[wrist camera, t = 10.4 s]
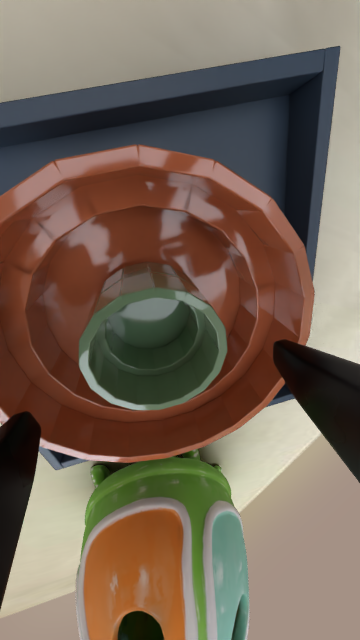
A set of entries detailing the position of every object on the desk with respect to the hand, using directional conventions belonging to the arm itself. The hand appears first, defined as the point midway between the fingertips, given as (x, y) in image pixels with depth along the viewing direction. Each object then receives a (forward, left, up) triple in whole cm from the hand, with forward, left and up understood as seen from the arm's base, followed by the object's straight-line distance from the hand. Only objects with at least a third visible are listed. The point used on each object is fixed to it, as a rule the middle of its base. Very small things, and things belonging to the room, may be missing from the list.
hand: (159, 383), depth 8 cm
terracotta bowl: (0, 0, -6) cm, 6 cm away
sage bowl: (0, 0, -6) cm, 6 cm away
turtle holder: (+3, +19, -6) cm, 20 cm away
